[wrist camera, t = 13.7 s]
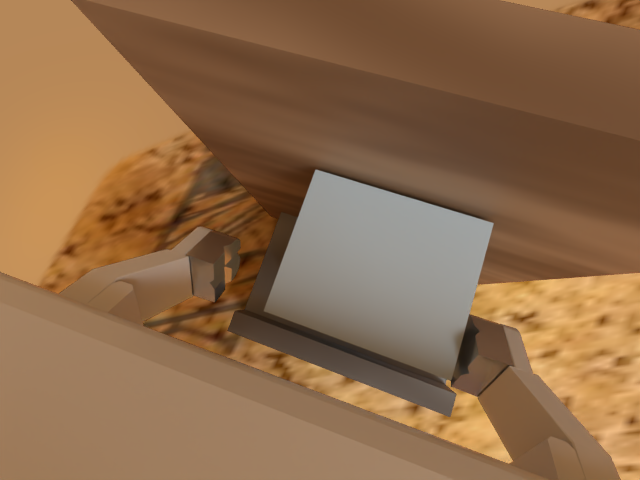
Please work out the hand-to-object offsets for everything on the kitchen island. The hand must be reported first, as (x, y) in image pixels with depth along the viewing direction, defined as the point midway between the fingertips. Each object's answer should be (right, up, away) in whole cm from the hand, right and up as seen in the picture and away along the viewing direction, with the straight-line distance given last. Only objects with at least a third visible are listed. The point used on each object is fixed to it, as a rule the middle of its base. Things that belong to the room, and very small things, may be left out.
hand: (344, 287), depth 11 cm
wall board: (+2, -2, +12) cm, 12 cm away
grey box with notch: (+2, -1, +9) cm, 9 cm away
